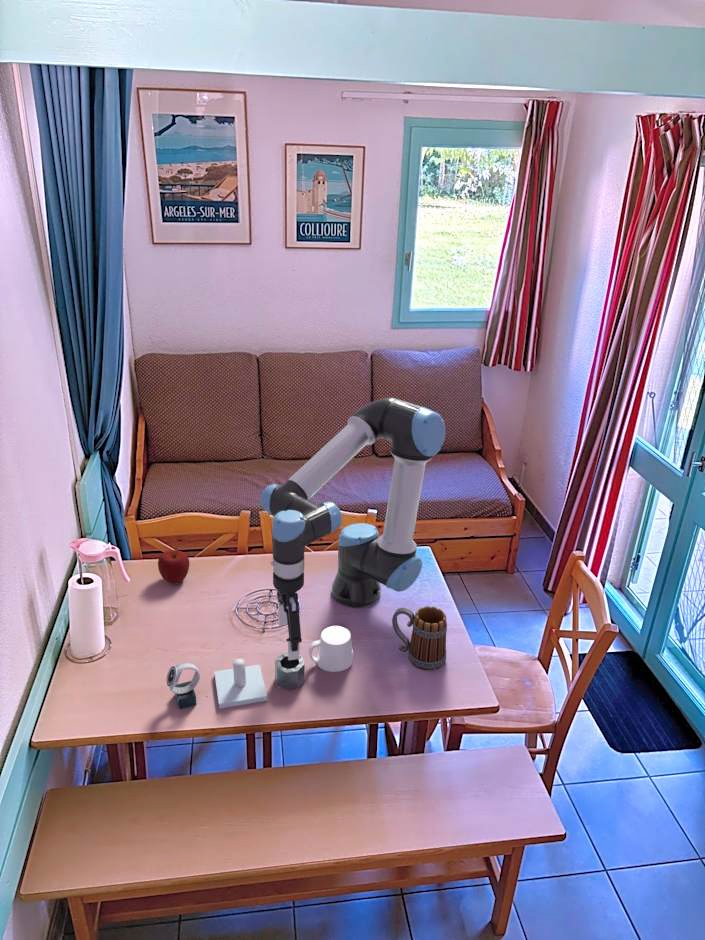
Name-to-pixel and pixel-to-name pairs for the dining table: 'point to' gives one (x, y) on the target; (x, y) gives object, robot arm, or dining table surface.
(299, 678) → the collar
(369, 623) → the dining table surface
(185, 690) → the watch
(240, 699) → the post block
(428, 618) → the mug
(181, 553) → the apple
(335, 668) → the mug
